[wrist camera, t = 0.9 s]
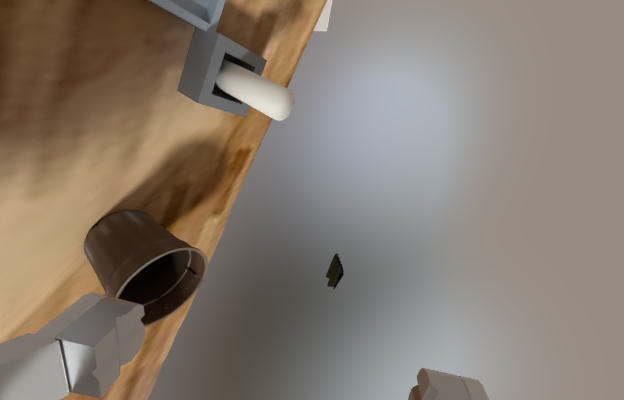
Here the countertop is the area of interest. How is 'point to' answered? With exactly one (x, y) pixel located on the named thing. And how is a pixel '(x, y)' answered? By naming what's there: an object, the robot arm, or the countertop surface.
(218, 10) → the tray
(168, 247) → the plant pot
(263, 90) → the dowel pin
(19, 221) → the countertop surface
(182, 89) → the pin cup
